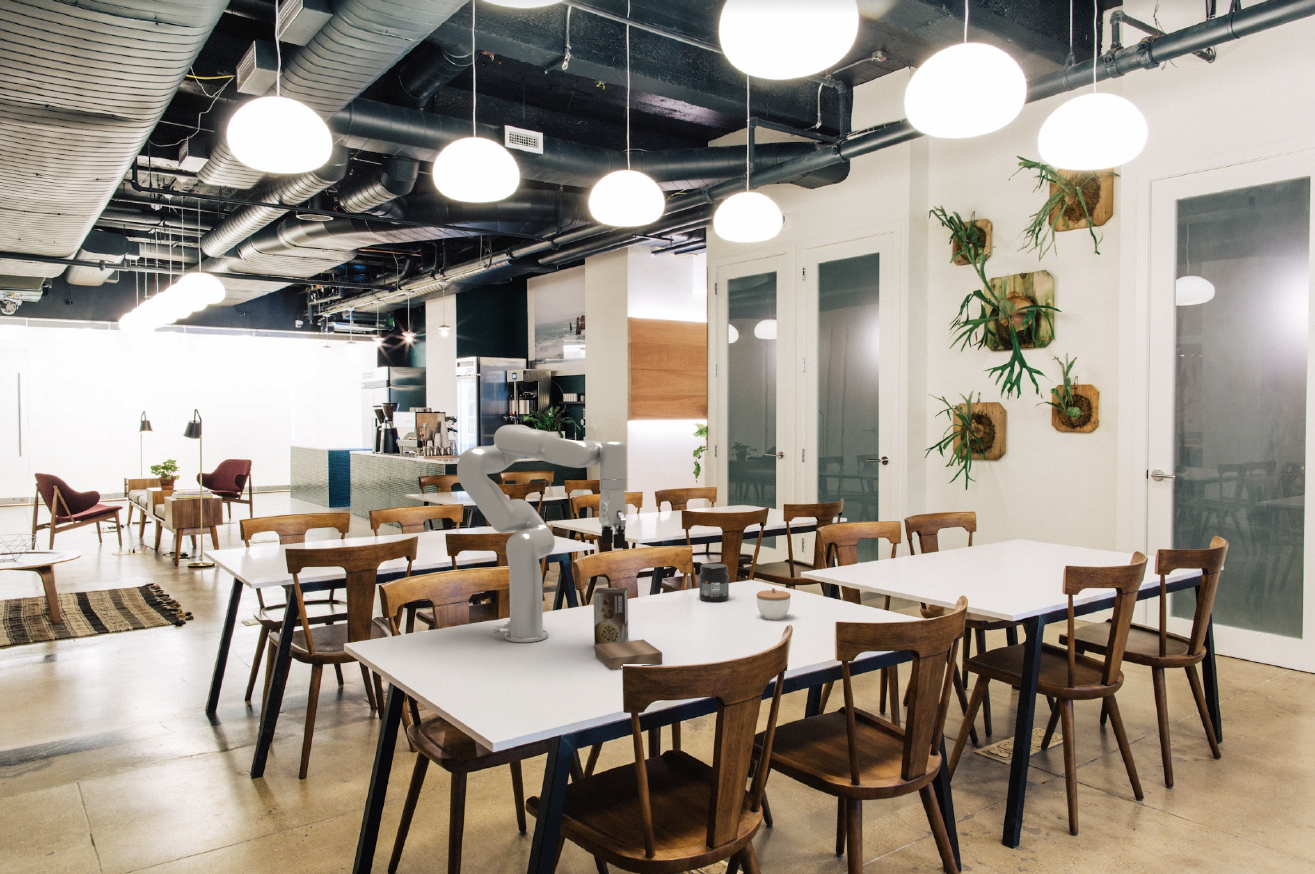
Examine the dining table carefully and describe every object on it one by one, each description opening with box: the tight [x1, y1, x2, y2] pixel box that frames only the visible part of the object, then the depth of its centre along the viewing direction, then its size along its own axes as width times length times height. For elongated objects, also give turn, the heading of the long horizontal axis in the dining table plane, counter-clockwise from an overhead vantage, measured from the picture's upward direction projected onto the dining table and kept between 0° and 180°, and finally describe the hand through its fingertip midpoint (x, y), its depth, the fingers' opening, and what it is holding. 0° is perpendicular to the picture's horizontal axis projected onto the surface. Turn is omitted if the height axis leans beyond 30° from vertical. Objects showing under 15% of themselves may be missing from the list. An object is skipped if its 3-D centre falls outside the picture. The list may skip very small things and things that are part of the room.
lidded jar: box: [756, 587, 791, 621], centre depth 270 cm, size 11×11×9 cm
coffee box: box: [592, 587, 630, 650], centre depth 237 cm, size 9×6×16 cm
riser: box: [594, 639, 663, 671], centre depth 224 cm, size 14×14×3 cm
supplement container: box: [698, 563, 730, 603], centre depth 298 cm, size 10×10×12 cm
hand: (613, 545), depth 237 cm, fingers open, 9 cm apart
